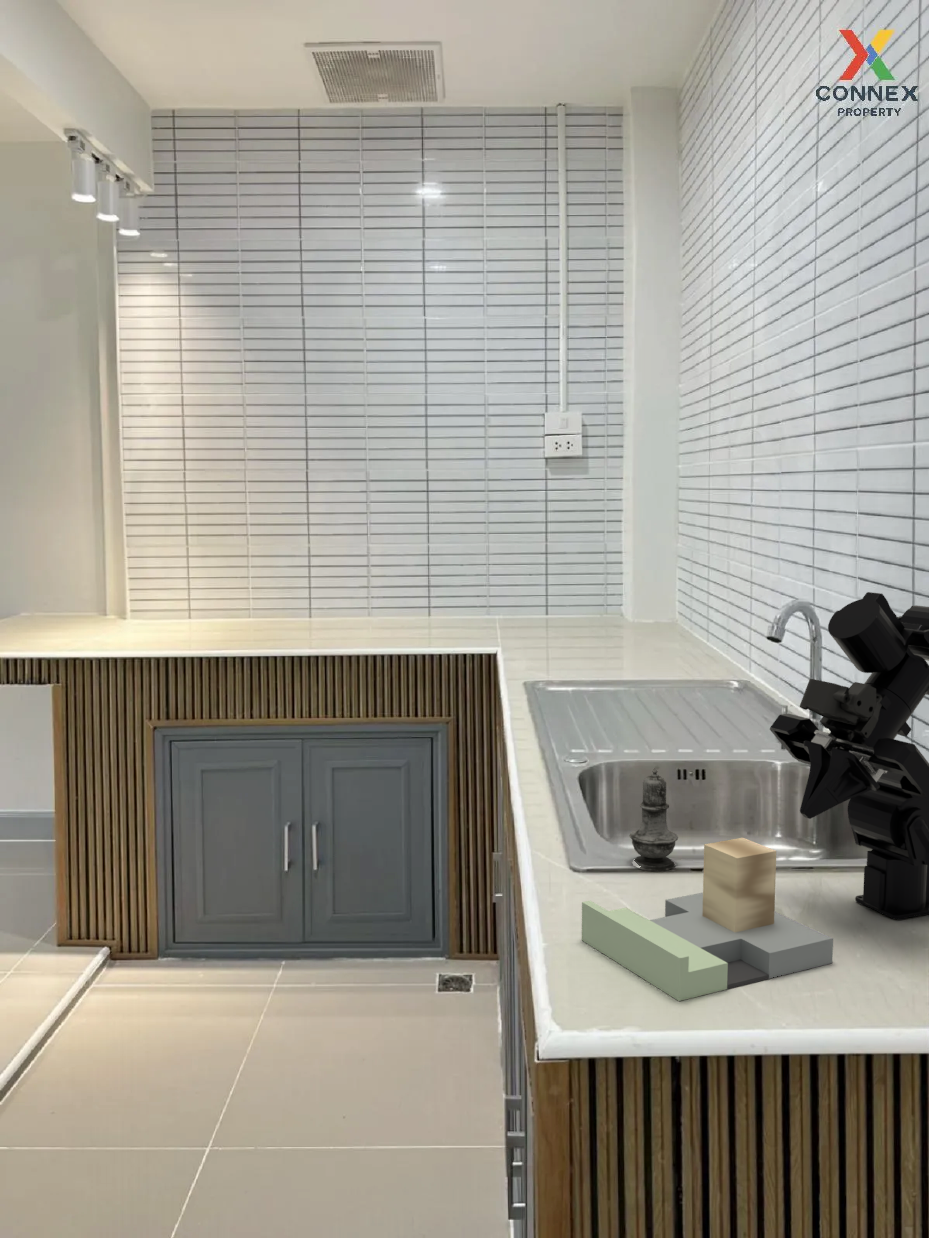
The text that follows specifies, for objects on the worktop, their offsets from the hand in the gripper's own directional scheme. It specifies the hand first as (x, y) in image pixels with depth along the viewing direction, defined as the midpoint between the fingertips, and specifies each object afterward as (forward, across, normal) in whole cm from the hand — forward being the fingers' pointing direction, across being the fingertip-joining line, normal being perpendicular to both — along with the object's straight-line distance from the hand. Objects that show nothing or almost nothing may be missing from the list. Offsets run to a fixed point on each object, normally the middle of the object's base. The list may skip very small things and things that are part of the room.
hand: (804, 815), depth 120 cm
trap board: (+18, 0, 0) cm, 18 cm away
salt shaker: (+9, -24, +8) cm, 27 cm away
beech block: (+13, 0, +1) cm, 13 cm away
